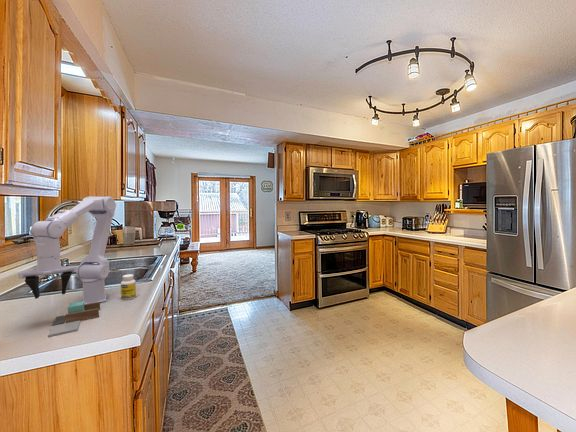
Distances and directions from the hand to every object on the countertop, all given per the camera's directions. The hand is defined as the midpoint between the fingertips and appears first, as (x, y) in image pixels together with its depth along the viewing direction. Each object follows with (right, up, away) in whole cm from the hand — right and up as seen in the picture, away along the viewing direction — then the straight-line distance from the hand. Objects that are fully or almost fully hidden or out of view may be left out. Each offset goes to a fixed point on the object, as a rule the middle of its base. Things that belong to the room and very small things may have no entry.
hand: (50, 295), depth 85 cm
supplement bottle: (+12, -8, +23) cm, 27 cm away
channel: (+7, -9, +5) cm, 13 cm away
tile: (+8, -10, -4) cm, 13 cm away
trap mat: (+2, -9, +2) cm, 10 cm away
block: (+5, -9, +4) cm, 12 cm away
